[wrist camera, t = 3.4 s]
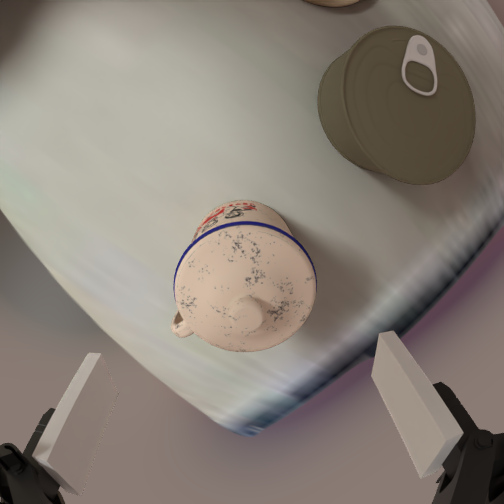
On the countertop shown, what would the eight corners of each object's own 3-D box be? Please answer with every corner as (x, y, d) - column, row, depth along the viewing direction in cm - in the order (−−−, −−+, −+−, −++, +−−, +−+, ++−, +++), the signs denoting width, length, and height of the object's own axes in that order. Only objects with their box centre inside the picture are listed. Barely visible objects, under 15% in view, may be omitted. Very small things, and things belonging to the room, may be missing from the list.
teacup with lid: (247, 174, 25) (256, 199, 14) (313, 251, 28) (359, 320, 17) (149, 264, 27) (104, 337, 16) (217, 327, 30) (210, 417, 19)
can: (305, 160, 25) (329, 166, 18) (322, 33, 21) (348, 3, 14) (421, 185, 26) (465, 199, 19) (434, 72, 22) (478, 62, 15)
